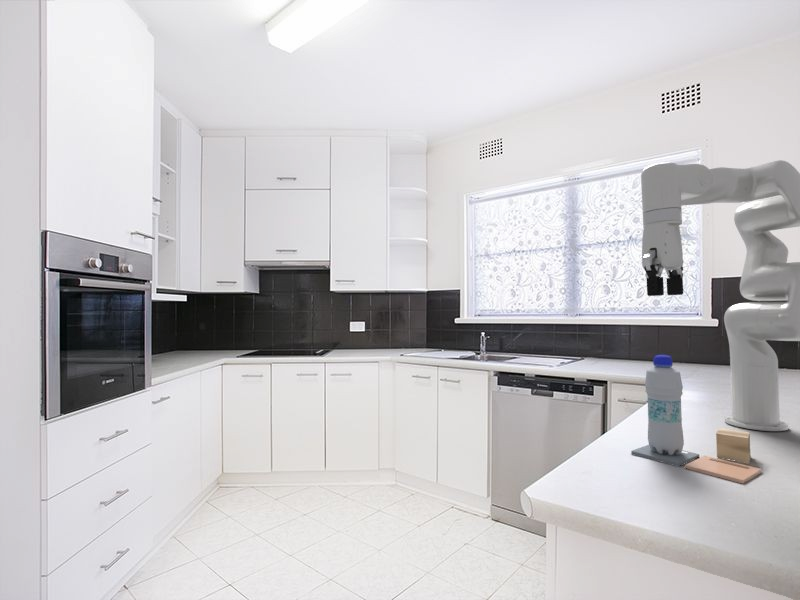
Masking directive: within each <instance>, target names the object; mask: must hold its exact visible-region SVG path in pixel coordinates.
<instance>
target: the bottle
mask: <svg viewBox="0 0 800 600" xmlns="http://www.w3.org/2000/svg"><path fill="white" fill-rule="evenodd" d="M652 361H653V363H652V364H653V367H651V368H648V369H647V370H646V373H645V383H644V387H645V392H646V394H647V395H646V396H647V419H648V420H647V421H648V424H647V442H648V445H649V446H650V448H651V450H653V451H654V452H656V451H657V452H658V453H659V454H663V450H667V451H668V455H670V456H672V455H673V454H674V453H675V454H676V455H679V454H681V452H682V450H683V449H684V445H685V443H684V441H685V439H684V431H683V424H682V423H683V422H682V421H683V418H682V414H683V413H682V396H683V394H684V392H683V388H684V386H683V381H682V377H681V376H682V375H681V371H679V370H678V369H675V368H674V367H673V358H672V357H671V356H670V355H667V354H658V355H655V356H654V357H653V360H652Z"/></svg>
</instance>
